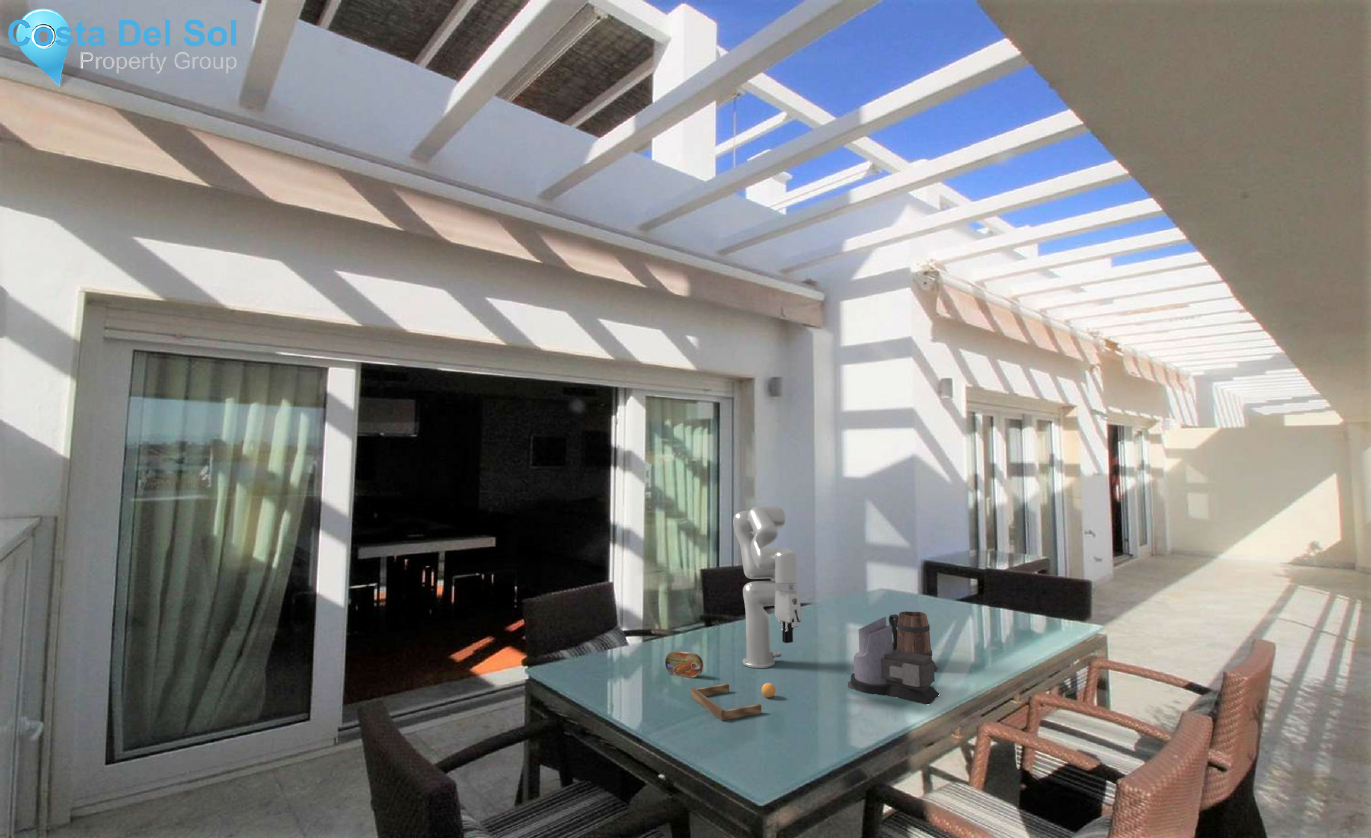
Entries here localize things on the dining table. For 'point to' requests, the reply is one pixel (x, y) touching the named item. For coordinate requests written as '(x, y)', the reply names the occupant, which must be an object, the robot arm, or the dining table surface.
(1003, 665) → the dining table surface
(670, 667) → the tin
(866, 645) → the juicer
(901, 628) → the tankard
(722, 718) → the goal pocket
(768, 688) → the ball
